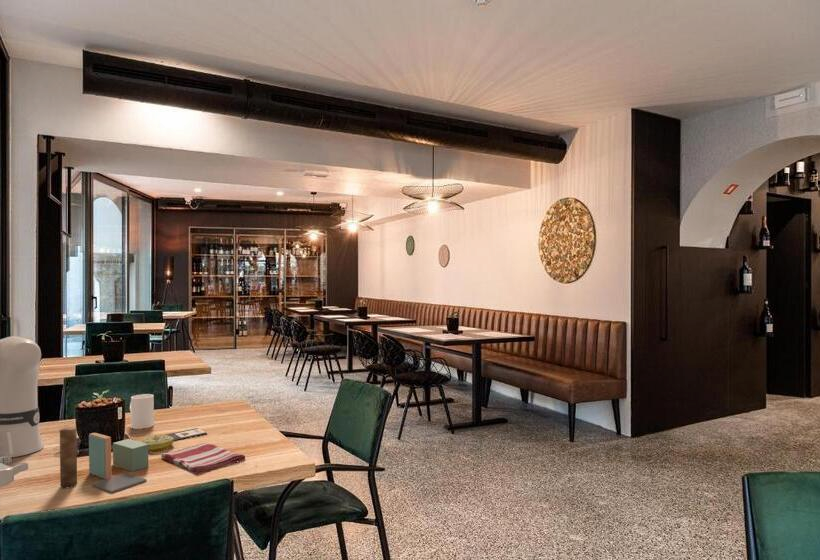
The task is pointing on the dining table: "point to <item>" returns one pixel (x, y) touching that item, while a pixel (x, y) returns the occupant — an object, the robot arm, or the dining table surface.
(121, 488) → the coaster
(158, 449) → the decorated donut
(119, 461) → the sage green block
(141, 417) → the mug
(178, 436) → the chocolate bar
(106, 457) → the tile
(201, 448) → the dish towel
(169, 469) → the dining table surface
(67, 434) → the dowel
